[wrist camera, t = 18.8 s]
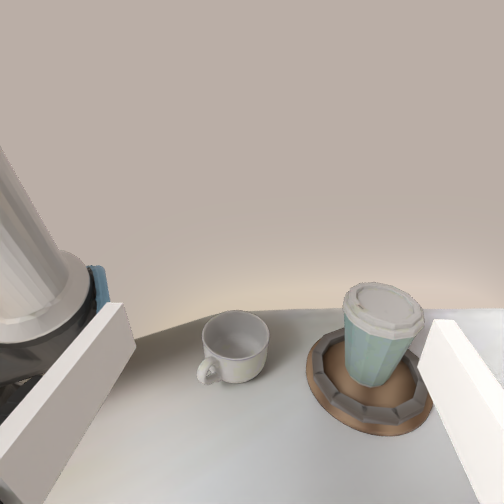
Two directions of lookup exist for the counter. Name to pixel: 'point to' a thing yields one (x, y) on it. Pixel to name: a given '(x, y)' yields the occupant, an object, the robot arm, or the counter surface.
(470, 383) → the robot arm
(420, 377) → the ring board
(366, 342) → the disposable coffee cup
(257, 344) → the teacup
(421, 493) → the counter surface
